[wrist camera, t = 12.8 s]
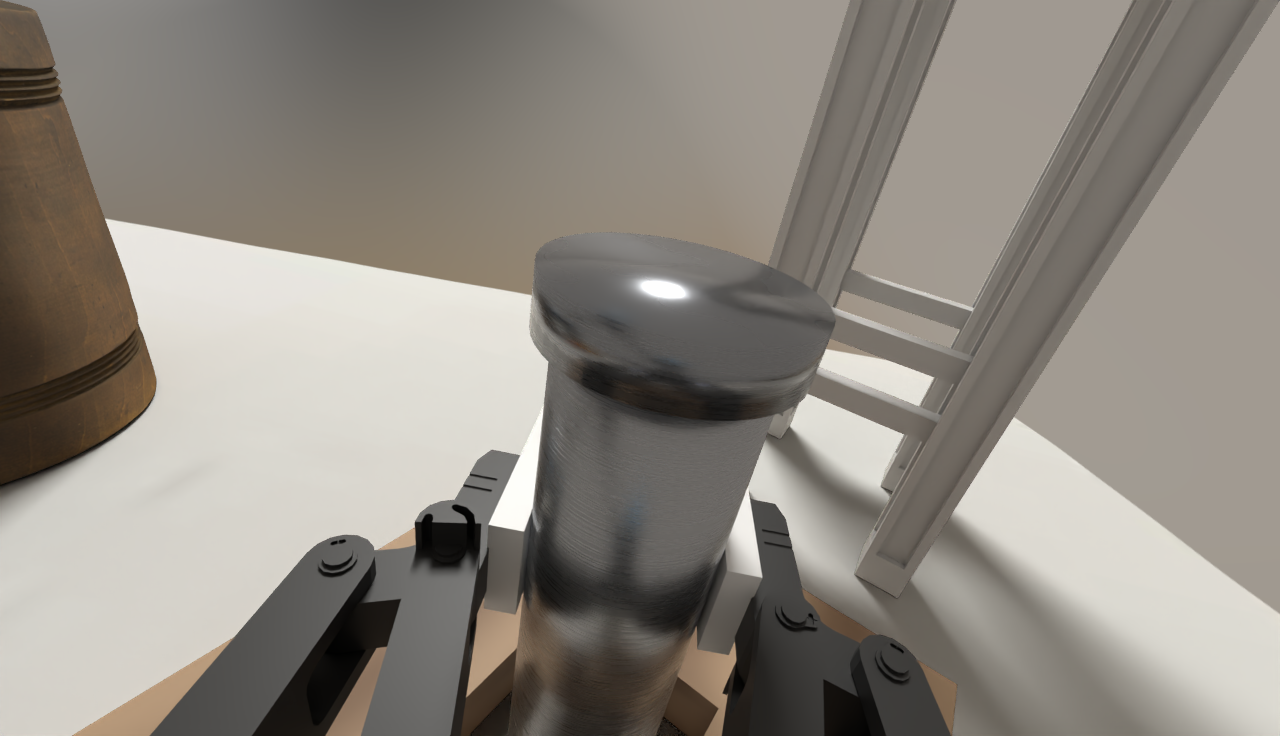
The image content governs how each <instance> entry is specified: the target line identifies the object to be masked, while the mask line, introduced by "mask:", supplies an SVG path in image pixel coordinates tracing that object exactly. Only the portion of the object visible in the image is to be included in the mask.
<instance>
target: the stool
mask: <svg viewBox="0 0 1280 736" xmlns="http://www.w3.org/2000/svg"><path fill="white" fill-rule="evenodd" d="M1279 1H1280V0H1132V2H1131V4H1130V6H1129V8H1128V10H1127V12H1126V14H1125V16H1124V17H1123V19H1122V21H1121V23H1120V25H1119V27H1118V29H1117V31H1116V33H1115V35H1114V36H1113V38H1112V40H1111V42H1110V44H1109V46H1108V48H1107V50H1106V52H1105V54H1104V55H1103V57H1102V60H1101V61H1100V63H1099V65H1098V67H1097V69H1096V71H1095V73H1094V75H1093V76H1092V78H1091V80H1090V82H1089V84H1088V86H1087V88H1086V90H1085V92H1084V93H1083V95H1082V97H1081V99H1080V101H1079V103H1078V105H1077V107H1076V109H1075V111H1074V113H1073V114H1072V116H1071V118H1070V120H1069V122H1068V124H1067V126H1066V128H1065V130H1064V131H1063V133H1062V135H1061V137H1060V139H1059V141H1058V143H1057V145H1056V147H1055V149H1054V151H1053V153H1052V154H1051V157H1050V158H1049V160H1048V162H1047V164H1046V166H1045V168H1044V170H1043V172H1042V173H1041V175H1040V177H1039V179H1038V181H1037V183H1036V185H1035V187H1034V189H1033V191H1032V193H1031V194H1030V196H1029V198H1028V200H1027V202H1026V204H1025V206H1024V208H1023V209H1022V211H1021V213H1020V215H1019V217H1018V219H1017V221H1016V223H1015V225H1014V227H1013V228H1012V230H1011V232H1010V234H1009V236H1008V238H1007V240H1006V242H1005V244H1004V246H1003V247H1002V249H1001V251H1000V253H999V255H998V257H997V259H996V261H995V263H994V265H993V266H992V268H991V270H990V272H989V274H988V276H987V278H986V280H985V282H984V284H983V286H982V288H981V289H980V291H979V293H978V295H977V297H976V299H975V301H974V303H973V305H972V306H971V307H969V306H966V305H963V304H960V303H956V302H953V301H950V300H947V299H944V298H941V297H937V296H934V295H931V294H928V293H925V292H921V291H918V290H915V289H912V288H909V287H905V286H902V285H899V284H896V283H893V282H890V281H886V280H883V279H880V278H877V277H874V276H870V275H867V274H864V273H861V272H858V271H854V270H851V268H852V266H853V263H854V261H855V258H856V255H857V253H858V250H859V248H860V246H861V243H862V240H863V238H864V235H865V232H866V230H867V228H868V225H869V222H870V220H871V217H872V215H873V212H874V210H875V207H876V204H877V202H878V200H879V197H880V194H881V192H882V189H883V187H884V184H885V182H886V179H887V177H888V174H889V171H890V168H891V166H892V164H893V161H894V159H895V156H896V154H897V151H898V148H899V146H900V143H901V140H902V138H903V136H904V133H905V131H906V128H907V125H908V123H909V120H910V118H911V115H912V113H913V110H914V108H915V105H916V102H917V100H918V97H919V95H920V92H921V90H922V87H923V84H924V82H925V79H926V77H927V74H928V72H929V69H930V67H931V64H932V62H933V59H934V56H935V54H936V51H937V49H938V46H939V44H940V41H941V38H942V36H943V33H944V31H945V28H946V26H947V23H948V21H949V18H950V15H951V13H952V10H953V8H954V5H955V3H956V0H850V2H849V6H848V9H847V12H846V15H845V18H844V22H843V25H842V28H841V32H840V35H839V38H838V41H837V45H836V47H835V51H834V54H833V57H832V61H831V64H830V67H829V70H828V73H827V77H826V80H825V83H824V86H823V89H822V93H821V96H820V99H819V102H818V106H817V109H816V112H815V115H814V118H813V122H812V125H811V128H810V132H809V135H808V138H807V141H806V144H805V148H804V151H803V154H802V157H801V160H800V164H799V167H798V170H797V173H796V177H795V180H794V183H793V186H792V189H791V193H790V196H789V199H788V203H787V206H786V209H785V212H784V215H783V219H782V222H781V225H780V228H779V231H778V235H777V238H776V241H775V244H774V247H773V251H772V254H771V257H770V260H769V264H768V266H770V267H772V268H774V269H776V270H779V271H781V272H783V273H785V274H787V275H789V276H791V277H793V278H795V279H796V280H798V281H800V282H802V283H803V284H805V285H806V286H808V287H809V288H811V289H812V290H814V291H815V292H816V293H818V294H819V295H820V296H821V297H822V298H823V299H824V300H825V301H826V302H827V303H828V304H829V305H830V307H831V308H832V310H833V312H834V314H835V319H836V322H835V327H834V329H833V332H832V334H831V337H830V339H833V340H836V341H838V342H841V343H844V344H847V345H849V346H852V347H855V348H857V349H860V350H863V351H865V352H868V353H871V354H873V355H876V356H879V357H881V358H884V359H887V360H889V361H892V362H895V363H897V364H900V365H903V366H905V367H908V368H911V369H913V370H916V371H919V372H921V373H924V374H927V375H930V376H932V377H934V379H933V380H932V382H931V384H930V386H929V388H928V390H927V392H926V394H925V396H924V398H923V400H922V401H921V403H920V405H919V406H916V405H914V404H911V403H909V402H906V401H904V400H901V399H899V398H896V397H894V396H891V395H889V394H886V393H884V392H881V391H879V390H876V389H874V388H871V387H868V386H866V385H863V384H861V383H858V382H856V381H853V380H851V379H848V378H846V377H843V376H841V375H838V374H836V373H833V372H831V371H828V370H826V369H823V368H821V367H818V370H817V372H816V375H815V377H814V380H813V382H812V385H811V387H810V390H809V392H808V393H807V394H810V395H812V396H815V397H817V398H819V399H822V400H824V401H826V402H829V403H831V404H833V405H836V406H838V407H841V408H843V409H845V410H848V411H850V412H852V413H855V414H857V415H859V416H862V417H864V418H867V419H869V420H871V421H874V422H876V423H878V424H881V425H883V426H885V427H888V428H890V429H893V430H895V431H897V432H900V433H902V434H904V436H903V438H902V439H901V441H900V443H899V445H898V447H897V449H896V451H895V453H894V455H893V457H892V458H891V460H890V462H889V464H888V466H887V468H886V470H885V473H884V477H883V480H882V483H881V486H882V487H884V488H886V489H888V490H890V491H892V492H893V493H892V495H891V497H890V499H889V500H888V502H887V504H886V506H885V508H884V510H883V511H882V513H881V515H880V517H879V519H878V520H877V522H876V524H875V526H874V528H873V530H872V531H871V533H870V535H869V537H868V539H867V540H866V542H865V544H864V546H863V548H862V551H861V554H860V557H859V561H858V564H857V567H856V571H855V575H856V576H858V577H860V578H862V579H864V580H865V581H867V582H869V583H871V584H873V585H875V586H876V587H878V588H880V589H882V590H884V591H885V592H887V593H889V594H891V595H893V596H895V597H896V598H898V597H899V596H900V594H901V592H902V591H903V589H904V588H905V586H906V585H907V583H908V581H909V580H910V578H911V577H912V575H913V574H914V572H915V571H916V569H917V567H918V566H919V564H920V563H921V561H922V560H923V558H924V556H925V555H926V553H927V552H928V550H929V549H930V547H931V545H932V544H933V542H934V541H935V539H936V538H937V536H938V535H939V533H940V531H941V530H942V528H943V527H944V525H945V524H946V522H947V520H948V519H949V517H950V516H951V514H952V513H953V511H954V509H955V508H956V506H957V505H958V503H959V502H960V500H961V499H962V497H963V495H964V494H965V492H966V491H967V489H968V488H969V486H970V484H971V483H972V481H973V480H974V478H975V477H976V475H977V473H978V472H979V470H980V469H981V467H982V466H983V464H984V462H985V461H986V459H987V458H988V456H989V455H990V453H991V452H992V450H993V448H994V447H995V445H996V444H997V442H998V441H999V439H1000V437H1001V436H1002V434H1003V433H1004V431H1005V430H1006V428H1007V426H1008V425H1009V423H1010V422H1011V420H1012V419H1013V417H1014V416H1015V414H1016V412H1017V411H1018V409H1019V408H1020V406H1021V404H1022V403H1023V401H1024V400H1025V398H1026V397H1027V395H1028V394H1029V392H1030V390H1031V389H1032V387H1033V386H1034V384H1035V382H1036V381H1037V380H1038V378H1039V376H1040V375H1041V373H1042V371H1043V370H1044V369H1045V367H1046V365H1047V364H1048V362H1049V361H1050V359H1051V357H1052V356H1053V354H1054V353H1055V351H1056V350H1057V348H1058V347H1059V345H1060V343H1061V342H1062V340H1063V339H1064V337H1065V335H1066V334H1067V333H1068V331H1069V329H1070V328H1071V326H1072V325H1073V323H1074V322H1075V320H1076V318H1077V317H1078V315H1079V314H1080V312H1081V310H1082V309H1083V307H1084V306H1085V304H1086V303H1087V301H1088V300H1089V298H1090V297H1091V295H1092V293H1093V292H1094V290H1095V289H1096V287H1097V286H1098V284H1099V282H1100V281H1101V279H1102V278H1103V276H1104V275H1105V273H1106V271H1107V270H1108V268H1109V267H1110V265H1111V264H1112V262H1113V260H1114V259H1115V257H1116V256H1117V254H1118V252H1119V251H1120V250H1121V248H1122V246H1123V245H1124V243H1125V242H1126V240H1127V239H1128V237H1129V235H1130V234H1131V232H1132V231H1133V229H1134V227H1135V226H1136V225H1137V223H1138V221H1139V220H1140V218H1141V217H1142V215H1143V214H1144V212H1145V210H1146V209H1147V207H1148V206H1149V204H1150V203H1151V201H1152V199H1153V198H1154V196H1155V194H1156V193H1157V192H1158V190H1159V189H1160V187H1161V185H1162V184H1163V182H1164V181H1165V179H1166V177H1167V176H1168V174H1169V173H1170V171H1171V170H1172V168H1173V166H1174V165H1175V163H1176V162H1177V160H1178V159H1179V157H1180V156H1181V154H1182V152H1183V151H1184V149H1185V148H1186V146H1187V145H1188V143H1189V141H1190V140H1191V138H1192V137H1193V135H1194V134H1195V132H1196V131H1197V129H1198V127H1199V126H1200V124H1201V123H1202V121H1203V120H1204V118H1205V116H1206V115H1207V113H1208V112H1209V110H1210V109H1211V107H1212V106H1213V104H1214V102H1215V101H1216V99H1217V98H1218V96H1219V95H1220V93H1221V91H1222V90H1223V88H1224V87H1225V85H1226V84H1227V82H1228V80H1229V79H1230V77H1231V76H1232V74H1233V73H1234V71H1235V70H1236V68H1237V66H1238V65H1239V63H1240V62H1241V60H1242V59H1243V57H1244V55H1245V54H1246V52H1247V51H1248V49H1249V47H1250V46H1251V44H1252V43H1253V41H1254V40H1255V38H1256V37H1257V35H1258V33H1259V32H1260V30H1261V29H1262V27H1263V26H1264V24H1265V23H1266V21H1267V19H1268V18H1269V16H1270V15H1271V13H1272V12H1273V10H1274V8H1275V7H1276V5H1277V4H1278V2H1279ZM842 291H846V292H849V293H852V294H855V295H858V296H861V297H864V298H867V299H870V300H873V301H876V302H879V303H882V304H885V305H888V306H891V307H894V308H897V309H900V310H903V311H906V312H909V313H912V314H915V315H918V316H921V317H924V318H927V319H930V320H933V321H936V322H939V323H942V324H945V325H948V326H951V327H954V328H957V329H959V331H958V333H957V335H956V337H955V339H954V341H953V342H952V345H951V346H950V348H948V347H945V346H942V345H939V344H936V343H934V342H931V341H928V340H925V339H922V338H919V337H916V336H914V335H911V334H908V333H905V332H902V331H899V330H896V329H893V328H891V327H888V326H885V325H882V324H879V323H876V322H873V321H870V320H867V319H864V318H861V317H859V316H856V315H853V314H850V313H847V312H845V311H842V310H839V309H836V307H837V304H838V302H839V299H840V297H841V294H842ZM798 404H799V403H798ZM798 404H797V405H796V406H794V407H792V408H790V409H788V410H786V411H784V412H781V413H778V414H775V415H774V417H773V420H772V422H771V425H770V428H769V431H768V434H771V435H773V436H775V437H777V438H779V439H781V438H782V436H783V435H784V433H785V432H786V431H787V429H788V428H789V426H790V424H791V422H792V419H793V417H794V414H795V412H796V409H797V406H798Z"/></svg>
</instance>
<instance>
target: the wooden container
mask: <svg viewBox="0 0 1280 736" xmlns="http://www.w3.org/2000/svg"><path fill="white" fill-rule="evenodd" d="M54 66H55V61H54V58H53V56H52V52H51V49H50V46H49V43H48V41H47V38H46V35H45V33H44V30H43V27H42V24H41V22H40V19H39V17H38V15H37V13H36V11H35V10H33V9H31V8H28V7H25V6H22V5H18V4H14V3H10V2H6V1H2V0H0V485H1V484H4V483H7V482H10V481H13V480H16V479H19V478H21V477H24V476H27V475H29V474H32V473H35V472H37V471H40V470H42V469H45V468H47V467H50V466H52V465H55V464H57V463H59V462H62V461H64V460H66V459H69V458H71V457H73V456H75V455H77V454H79V453H82V452H84V451H85V450H87V449H89V448H91V447H93V446H95V445H96V444H98V443H100V442H102V441H103V440H105V439H107V438H108V437H110V436H111V435H113V434H114V433H116V432H117V431H119V430H120V429H121V428H123V427H124V426H126V425H127V424H128V423H129V422H131V421H132V420H133V419H134V418H135V417H137V416H138V415H139V414H140V413H141V412H142V411H143V410H144V409H145V408H146V407H147V405H148V404H149V403H150V401H151V400H152V398H153V396H154V394H155V391H156V376H155V372H154V368H153V365H152V362H151V359H150V356H149V353H148V349H147V346H146V343H145V340H144V337H143V334H142V332H141V330H140V327H139V324H138V316H137V312H136V309H135V306H134V302H133V299H132V296H131V292H130V288H129V285H128V282H127V279H126V276H125V273H124V270H123V267H122V264H121V262H120V259H119V256H118V253H117V251H116V248H115V245H114V243H113V240H112V237H111V235H110V232H109V229H108V226H107V224H106V221H105V218H104V215H103V213H102V210H101V207H100V205H99V202H98V199H97V196H96V193H95V190H94V188H93V185H92V182H91V179H90V176H89V173H88V170H87V167H86V165H85V161H84V158H83V155H82V152H81V149H80V146H79V143H78V140H77V137H76V135H75V132H74V129H73V126H72V123H71V120H70V117H69V114H68V111H67V108H66V106H65V103H64V100H63V99H62V97H61V96H60V94H61V93H62V89H61V88H60V87H59V86H58V85H59V84H60V80H58V79H57V78H56V77H57V76H58V72H57V71H56V70H55V69H53V67H54Z"/></svg>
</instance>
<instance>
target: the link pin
mask: <svg viewBox="0 0 1280 736" xmlns="http://www.w3.org/2000/svg"><path fill="white" fill-rule="evenodd" d="M835 322H836V319H835V314H834V312H833V310H832V308H831V307H830V305H829V304H828V303H827V302H826V301H825V300H824V299H823V298H822V297H821V296H820V295H819V294H818V293H816V292H815V291H814V290H812V289H811V288H809V287H808V286H806V285H805V284H803V283H802V282H800V281H798V280H796V279H795V278H793V277H791V276H789V275H787V274H785V273H783V272H781V271H779V270H776V269H774V268H772V267H770V266H767V265H765V264H762V263H760V262H757V261H754V260H751V259H749V258H746V257H743V256H740V255H737V254H734V253H731V252H727V251H723V250H720V249H717V248H713V247H709V246H705V245H701V244H696V243H692V242H687V241H682V240H677V239H672V238H665V237H659V236H651V235H643V234H631V233H612V232H609V233H608V232H606V233H585V234H575V235H570V236H566V237H562V238H558V239H555V240H553V241H550V242H548V243H546V244H545V245H544V246H542V247H541V248H540V249H539V251H538V252H537V254H536V258H535V267H534V279H533V290H532V301H531V313H530V324H529V328H530V335H531V337H532V340H533V342H534V344H535V346H536V347H537V349H538V350H539V351H540V353H541V354H542V355H543V356H544V357H545V358H546V359H547V360H548V361H549V363H548V372H547V381H546V390H545V399H544V409H543V418H542V427H541V436H540V445H539V454H538V463H537V472H536V481H535V490H534V499H533V509H532V518H531V527H530V537H529V546H528V555H527V564H526V573H525V582H524V590H523V599H522V608H521V617H520V627H519V636H518V645H517V654H516V663H515V672H514V681H513V690H512V699H511V708H510V717H509V726H508V736H656V734H657V732H658V729H659V726H660V723H661V721H662V718H663V715H664V713H665V710H666V707H667V704H668V702H669V699H670V696H671V694H672V691H673V688H674V685H675V683H676V680H677V677H678V675H679V672H680V669H681V666H682V664H683V661H684V658H685V656H686V653H687V650H688V647H689V645H690V642H691V639H692V637H693V634H694V631H695V629H696V626H697V623H698V620H699V618H700V615H701V612H702V610H703V607H704V604H705V601H706V599H707V596H708V593H709V591H710V588H711V585H712V582H713V580H714V577H715V574H716V572H717V569H718V566H719V563H720V561H721V558H722V555H723V553H724V550H725V547H726V544H727V542H728V539H729V536H730V534H731V531H732V528H733V525H734V523H735V520H736V517H737V515H738V512H739V509H740V506H741V504H742V501H743V498H744V496H745V493H746V490H747V487H748V485H749V482H750V479H751V477H752V474H753V471H754V468H755V466H756V463H757V460H758V458H759V455H760V452H761V449H762V447H763V444H764V441H765V439H766V436H767V433H768V431H769V428H770V425H771V422H772V420H773V417H774V415H775V414H778V413H781V412H784V411H786V410H788V409H790V408H792V407H794V406H796V405H797V404H798V403H799V402H801V401H802V400H803V399H804V398H805V396H806V395H807V393H808V392H809V390H810V387H811V385H812V382H813V380H814V377H815V375H816V372H817V370H818V367H819V365H820V362H821V360H822V357H823V355H824V352H825V349H826V347H827V344H828V342H829V339H830V337H831V334H832V332H833V329H834V327H835Z"/></svg>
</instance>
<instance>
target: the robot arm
mask: <svg viewBox="0 0 1280 736" xmlns="http://www.w3.org/2000/svg"><path fill="white" fill-rule="evenodd" d="M543 409H544V405H543V407H542V410H541V412H540V414H539V416H538V418H537V420H536V423H535V425H534V427H533V429H532V431H531V433H530V435H529V438H528V440H527V442H526V444H525V446H524V448H523V451H522V453H521V455H516V454H511V453H506V452H501V451H495V450H491V451H489V452H488V453H487V454H485V455H484V456H482V457H481V458H480V459H478V460H477V462H476V464H475V465H474V467H473V469H472V471H471V472H470V475H469V476H468V478H467V479H466V481H465V483H464V485H463V487H462V488H461V490H460V492H459V493H458V495H457V497H456V498H455V500H448V501H441V502H438V503H435V504H433V505H430V506H428V507H427V508H426V509H425V510H423V511H422V512H421V513H420V514H419V516H418V517H417V519H416V521H415V540H416V545H413V546H410V547H405V548H399V549H386V550H374V547H373V545H372V544H371V543H370V542H369V541H368V540H367V539H365V538H362V537H360V536H358V535H341V536H336V537H332V538H329V539H327V540H325V541H323V542H321V543H319V544H317V545H316V546H314V547H313V548H312V549H311V550H310V551H309V552H307V553H306V555H305V556H304V557H303V558H302V559H301V560H300V562H299V563H298V564H297V565H296V566H295V567H294V568H293V570H292V571H291V572H290V573H289V574H288V575H287V577H286V578H285V579H284V580H283V581H282V582H281V584H280V585H279V586H278V587H277V588H276V589H275V591H274V592H273V593H272V594H271V595H270V596H269V598H268V599H267V600H266V601H265V602H264V603H263V604H262V606H261V607H260V608H259V609H258V610H257V611H256V613H255V614H254V615H253V616H252V617H251V618H250V620H249V621H248V622H247V623H246V624H245V625H244V627H243V628H242V629H241V630H240V631H239V632H238V634H237V635H236V636H235V637H234V638H233V639H232V640H231V642H230V643H229V644H228V645H227V646H226V647H225V649H224V650H223V651H222V652H221V653H220V654H219V656H218V657H217V658H216V659H215V660H214V661H213V663H212V664H211V665H210V666H209V667H208V668H207V670H206V671H205V672H204V673H203V674H202V675H201V677H200V678H199V679H198V680H197V681H196V682H195V683H194V685H193V686H192V687H191V688H190V689H189V690H188V692H187V693H186V694H185V695H184V696H183V697H182V699H181V700H180V701H179V702H178V703H177V704H176V706H175V707H174V708H173V709H172V710H171V711H170V713H169V714H168V715H167V716H166V717H165V718H164V719H163V721H162V722H161V723H160V724H159V725H158V726H157V728H156V729H155V730H154V731H153V732H152V733H151V735H150V736H326V734H327V732H328V730H329V729H330V727H331V725H332V724H333V722H334V720H335V718H336V717H337V715H338V713H339V712H340V710H341V708H342V707H343V705H344V703H345V701H346V700H347V698H348V696H349V695H350V693H351V691H352V689H353V688H354V686H355V684H356V683H357V681H358V679H359V677H360V676H361V674H362V672H363V671H364V669H365V667H366V665H367V664H368V662H369V660H370V659H371V657H372V655H373V653H374V652H375V650H376V648H381V647H387V649H386V652H385V656H384V659H383V662H382V666H381V669H380V673H379V676H378V679H377V683H376V686H375V689H374V693H373V696H372V700H371V703H370V706H369V710H368V713H367V716H366V720H365V723H364V727H363V730H362V733H361V736H461V730H462V723H463V716H464V709H465V702H466V695H467V689H468V682H469V675H470V668H471V661H472V654H473V647H474V641H475V634H476V627H477V613H478V611H479V608H480V606H481V603H482V601H483V598H484V609H488V610H494V611H499V612H504V613H509V614H515V615H516V612H517V609H518V606H519V603H520V600H521V596H522V593H523V590H524V582H525V573H526V564H527V555H528V546H529V537H530V527H531V518H532V509H533V499H534V490H535V481H536V472H537V463H538V454H539V445H540V436H541V427H542V418H543ZM734 642H735V649H736V663H735V665H734V667H733V669H732V672H731V674H730V676H729V678H728V680H727V683H726V685H725V687H724V690H723V694H725V695H727V694H728V696H727V703H726V710H725V716H724V723H723V730H722V736H951V734H950V732H949V729H948V727H947V725H946V722H945V720H944V718H943V715H942V713H941V711H940V709H939V706H938V704H937V702H936V699H935V697H934V695H933V692H932V690H931V688H930V685H929V683H928V681H927V678H926V676H925V674H924V671H923V669H922V668H921V666H920V664H919V663H918V661H917V659H916V658H915V657H914V656H913V655H912V654H911V653H910V652H909V651H908V649H907V648H906V647H904V646H903V645H901V644H900V643H898V642H897V641H895V640H894V639H892V638H889V637H886V636H883V635H869V636H867V637H866V638H864V639H863V640H862V641H861V643H859V642H857V641H855V640H853V639H851V638H849V637H847V636H844V635H842V634H840V633H838V632H836V631H835V630H833V629H831V628H829V627H828V626H826V625H825V624H824V623H823V622H821V620H820V616H819V615H818V613H817V612H816V610H815V608H814V607H813V606H812V605H811V604H810V603H809V602H808V601H807V600H806V599H805V598H804V595H803V591H802V586H801V582H800V578H799V574H798V569H797V565H796V561H795V557H794V552H793V550H792V544H791V540H790V537H789V531H788V527H787V523H786V519H785V517H784V516H783V515H782V513H781V512H780V510H779V509H778V507H777V506H776V505H775V504H772V503H767V502H762V501H757V500H752V499H750V496H749V490H748V487H747V490H746V493H745V496H744V498H743V501H742V504H741V506H740V509H739V512H738V515H737V517H736V520H735V523H734V525H733V528H732V531H731V534H730V536H729V539H728V542H727V544H726V547H725V550H724V553H723V555H722V558H721V561H720V563H719V566H718V569H717V572H716V574H715V577H714V580H713V582H712V585H711V588H710V591H709V593H708V596H707V599H706V601H705V604H704V607H703V610H702V612H701V615H700V618H699V620H698V623H697V649H698V650H703V651H708V652H714V653H719V654H724V655H729V653H730V651H731V649H732V647H733V644H734Z"/></svg>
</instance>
